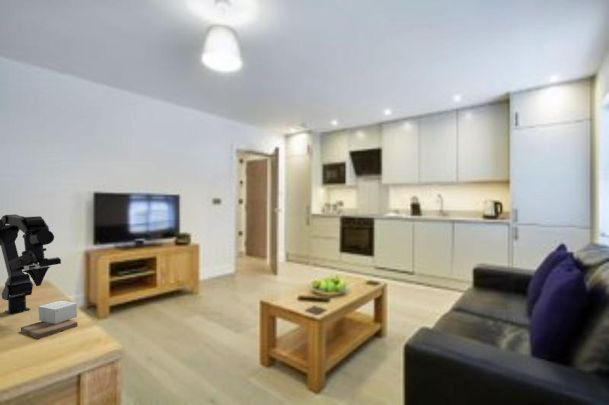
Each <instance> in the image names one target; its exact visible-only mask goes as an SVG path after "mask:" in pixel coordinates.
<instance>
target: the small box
mask: <svg viewBox="0 0 609 405" xmlns="http://www.w3.org/2000/svg"><path fill="white" fill-rule="evenodd" d="M77 306H78V303H77V302H73V301H72V302H71V301H67V300H66V301H65V300H58V301H57V300H56V301H54V302H51V303H46V304H42V305H40V306H38V322H41V321H43V322H48V323H53V324H57V323H60V322H63V321H66V320H71V319H75V318H77V316H78V312H77V309H78V307H77Z"/></svg>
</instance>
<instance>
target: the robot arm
mask: <svg viewBox="0 0 609 405" xmlns="http://www.w3.org/2000/svg"><path fill="white" fill-rule="evenodd" d="M20 231H21V232H22V233H23V235H22V238H23V241H24V242H23V244H24V250H23V251H22V252H21V255H20V256H19V253H18V250H17V245H16V242H15V241H16V240H17V238H18V236H19V232H20ZM54 239H55V235H54V234H53V232H52V231H51V230H50V227H49V225H48V224H47V223H46V221H45V219H44V218H43V217H42V216H40V215H39V216H35V215H34V216H22V215H19V214H17V213H16V214H15V213H14V214H5V215H2V217H1V219H0V248H1V251H2V256H3V260H4V264H5V269H6V272H7V276H8V277H7V279H6V281H5V282H4V287H3V290H2V292H1V299H2V300H5V301H7V304H8V306H7V308H8V309H7V310H5V311H4V313H6V314H9V315H14V314H19V313H23V312H25V311H30V310H31V308H30V307H27V297H28V296H31V295H32V293H33V288H34V284H35V286H36V287H40V286H42V283H43V280H44V278H45V275H46V274H47V272H48V270H49V269H50V268H51V266H55V265H61V264H62V259H61V258H60V257H58V256H56V257H51V258H47V257H45V251H47V248H44V246H47V245H49V244H51V243H52V242H54ZM31 280H32V281H31ZM33 282H34V283H33Z"/></svg>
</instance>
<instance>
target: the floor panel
mask: <svg viewBox="0 0 609 405" xmlns="http://www.w3.org/2000/svg"><path fill="white" fill-rule="evenodd" d="M76 327H78V321H75V320H71V319H69V320H66V321H63V322H60V323H57V324H53V323H48V322H43V321H38V322H34V323H31V324H28V325H25V326H20V332H21V333H24V334H26V335H29V336H31V337H34V338H36V339H39V340H40V339H42V338H46V337H49V336H51V335H56V334H58V333H61V332H64V331H67V330H70V329H74V328H76Z"/></svg>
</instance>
